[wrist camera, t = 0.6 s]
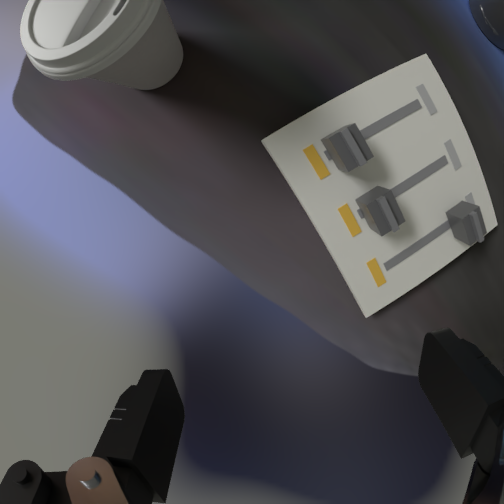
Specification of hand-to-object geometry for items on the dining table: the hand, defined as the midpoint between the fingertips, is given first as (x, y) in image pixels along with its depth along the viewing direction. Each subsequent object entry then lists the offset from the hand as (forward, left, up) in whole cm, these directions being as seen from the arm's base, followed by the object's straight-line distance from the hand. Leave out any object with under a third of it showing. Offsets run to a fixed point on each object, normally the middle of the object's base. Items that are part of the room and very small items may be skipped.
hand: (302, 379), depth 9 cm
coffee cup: (+1, -20, -22) cm, 29 cm away
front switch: (-9, -3, -19) cm, 21 cm away
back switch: (-17, +9, -19) cm, 27 cm away
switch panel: (-13, +3, -22) cm, 25 cm away
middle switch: (-9, +3, -19) cm, 21 cm away
